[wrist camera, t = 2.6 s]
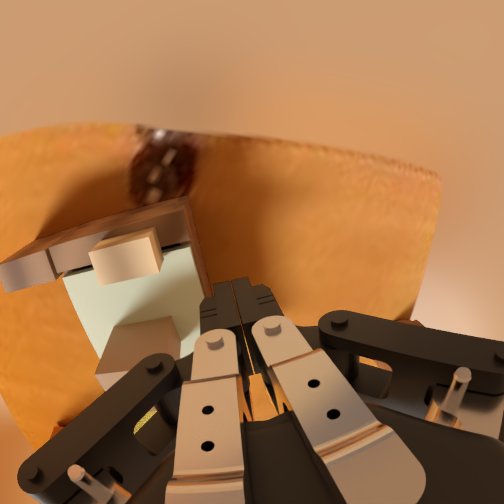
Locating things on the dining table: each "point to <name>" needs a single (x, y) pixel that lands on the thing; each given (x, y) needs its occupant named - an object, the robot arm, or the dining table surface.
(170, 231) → the wooden box frame
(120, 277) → the tan wooden block
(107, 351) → the lid
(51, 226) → the dining table surface
